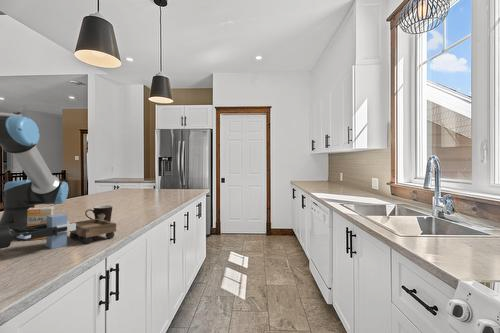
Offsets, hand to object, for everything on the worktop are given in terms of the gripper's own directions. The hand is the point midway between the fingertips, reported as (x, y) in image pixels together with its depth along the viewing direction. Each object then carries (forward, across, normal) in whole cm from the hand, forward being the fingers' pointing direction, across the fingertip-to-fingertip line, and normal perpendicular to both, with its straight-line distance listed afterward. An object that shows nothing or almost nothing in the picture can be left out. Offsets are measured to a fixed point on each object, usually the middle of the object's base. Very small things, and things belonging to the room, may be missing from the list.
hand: (72, 225), depth 104 cm
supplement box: (-5, -17, -7) cm, 19 cm away
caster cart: (+8, 0, -7) cm, 10 cm away
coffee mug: (+21, -20, -7) cm, 30 cm away
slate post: (-5, 0, -7) cm, 9 cm away
